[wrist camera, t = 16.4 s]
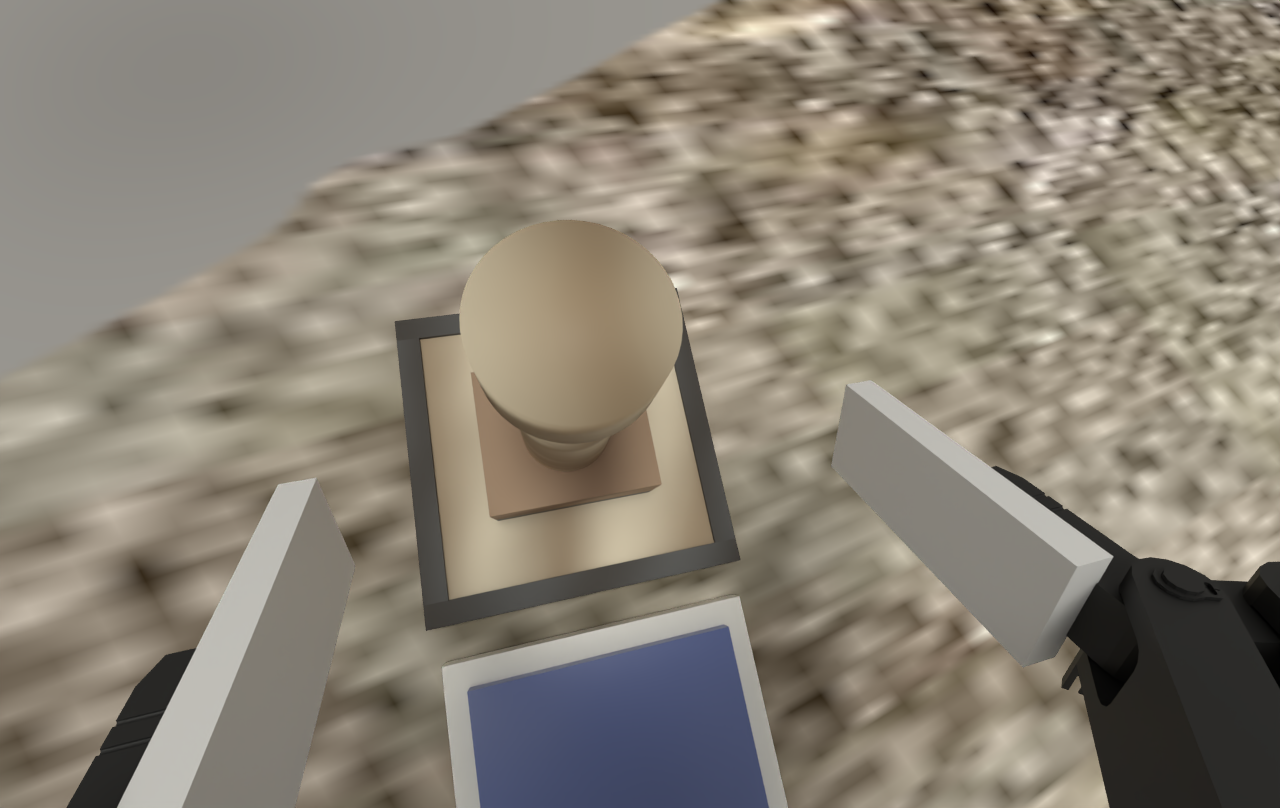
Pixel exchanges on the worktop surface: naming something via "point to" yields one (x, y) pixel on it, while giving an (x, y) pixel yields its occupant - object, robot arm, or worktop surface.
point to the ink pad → (616, 717)
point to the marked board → (555, 540)
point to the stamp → (567, 365)
